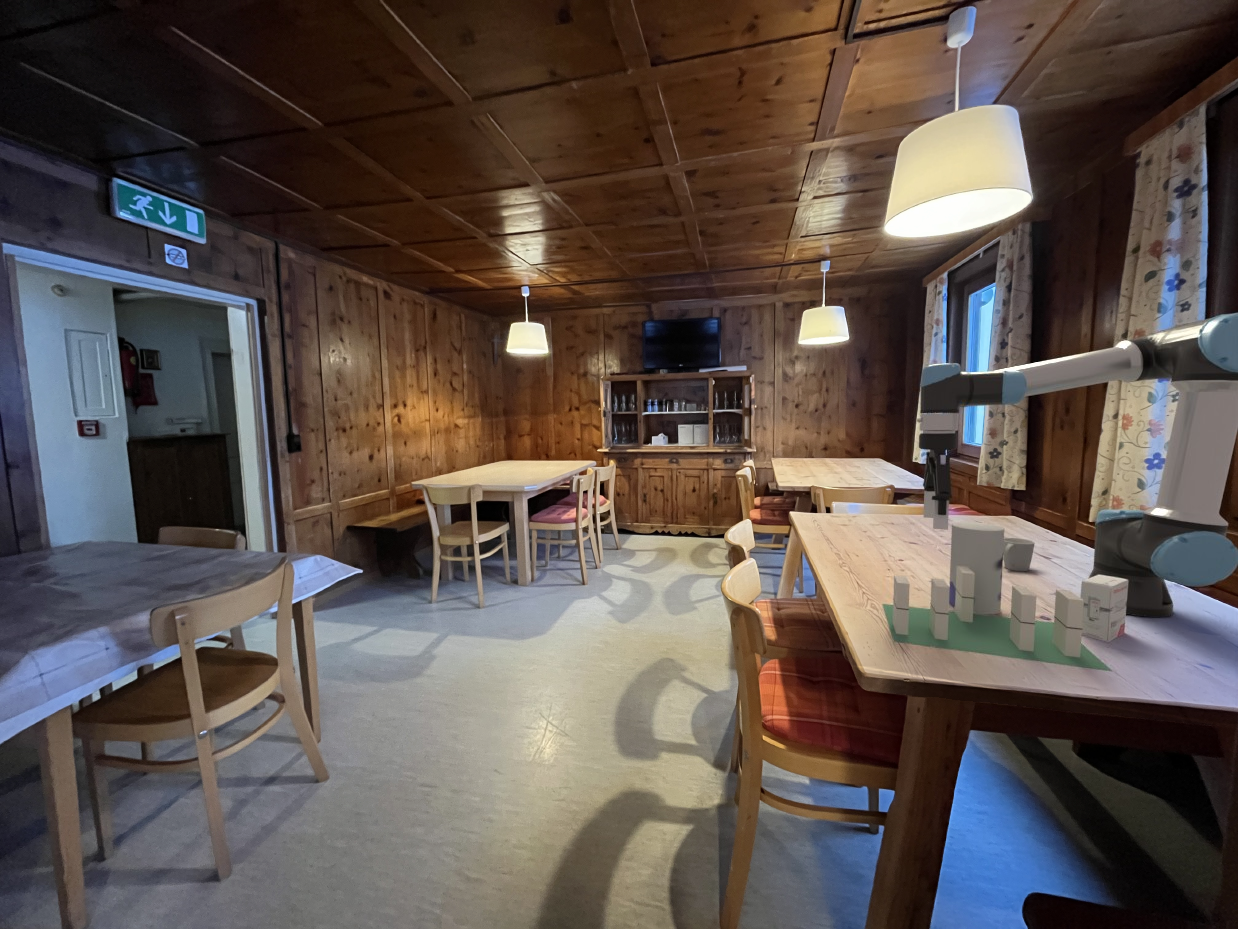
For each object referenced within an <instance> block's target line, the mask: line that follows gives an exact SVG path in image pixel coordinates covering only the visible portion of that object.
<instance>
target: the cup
mask: <svg viewBox="0 0 1238 929" xmlns="http://www.w3.org/2000/svg"><path fill="white" fill-rule="evenodd" d="M1035 544H1036V543H1035V541H1033V540H1030V539H1025V538H1021V537H1020V538H1018V537H1004V547H1003V564H1004V565H1003V566H1004V567H1005V568H1006V569H1008V570H1010V571H1016V572H1028V571H1029V570H1030V567H1031V562H1032V560H1033V555H1034V548H1035Z"/></svg>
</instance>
